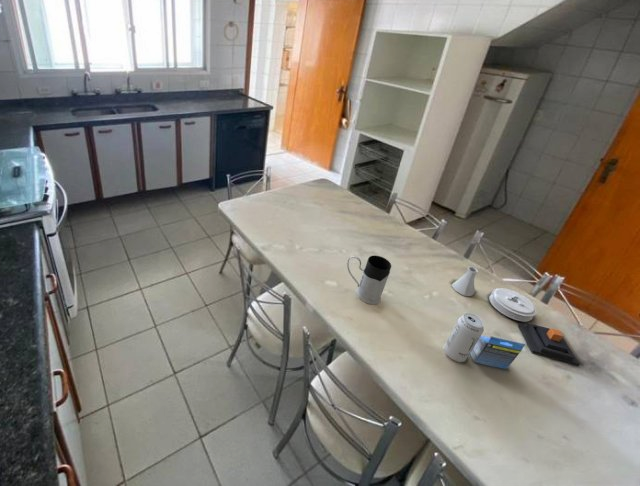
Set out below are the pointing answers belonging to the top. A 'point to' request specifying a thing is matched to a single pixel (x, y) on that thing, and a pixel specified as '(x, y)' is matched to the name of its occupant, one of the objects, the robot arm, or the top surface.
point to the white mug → (372, 279)
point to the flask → (466, 282)
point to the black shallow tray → (538, 347)
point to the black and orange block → (551, 339)
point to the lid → (512, 304)
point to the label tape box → (496, 351)
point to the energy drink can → (464, 337)
